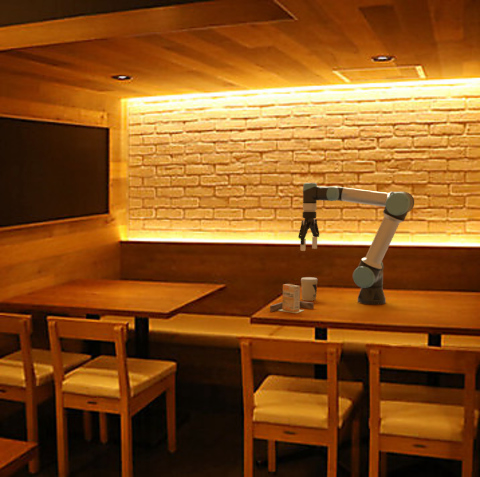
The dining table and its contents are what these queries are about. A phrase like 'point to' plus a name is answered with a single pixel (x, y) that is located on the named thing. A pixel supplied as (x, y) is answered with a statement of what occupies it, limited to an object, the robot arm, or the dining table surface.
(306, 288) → the coffee cup
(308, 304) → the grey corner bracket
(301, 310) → the pad
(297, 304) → the supplement box
